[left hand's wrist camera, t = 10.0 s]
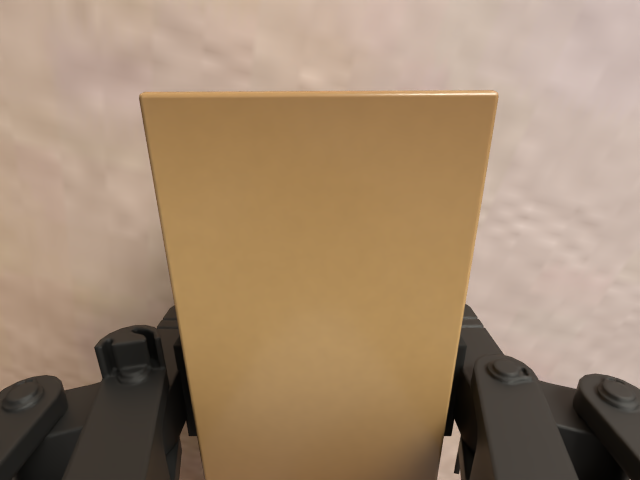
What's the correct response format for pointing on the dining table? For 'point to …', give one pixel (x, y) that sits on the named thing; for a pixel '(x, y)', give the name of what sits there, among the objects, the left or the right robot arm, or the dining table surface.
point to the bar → (319, 271)
